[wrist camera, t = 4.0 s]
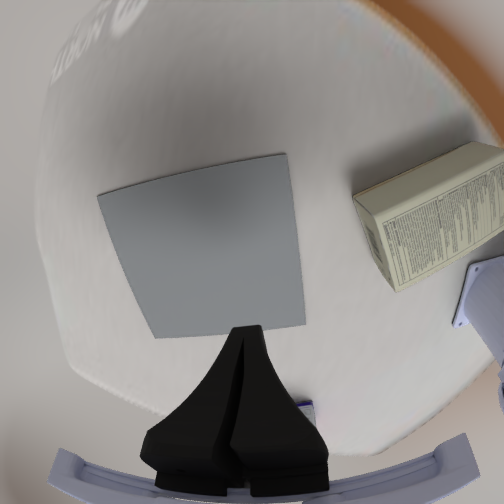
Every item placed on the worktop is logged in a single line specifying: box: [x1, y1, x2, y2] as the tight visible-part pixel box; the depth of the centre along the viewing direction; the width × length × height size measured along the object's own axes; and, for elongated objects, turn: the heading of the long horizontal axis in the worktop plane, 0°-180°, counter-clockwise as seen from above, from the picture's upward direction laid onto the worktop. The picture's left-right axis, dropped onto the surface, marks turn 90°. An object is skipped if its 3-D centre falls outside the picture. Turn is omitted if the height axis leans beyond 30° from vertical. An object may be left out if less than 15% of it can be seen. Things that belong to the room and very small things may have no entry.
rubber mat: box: [97, 154, 306, 338], centre depth 20 cm, size 14×14×1 cm
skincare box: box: [353, 142, 504, 293], centre depth 16 cm, size 6×4×12 cm
